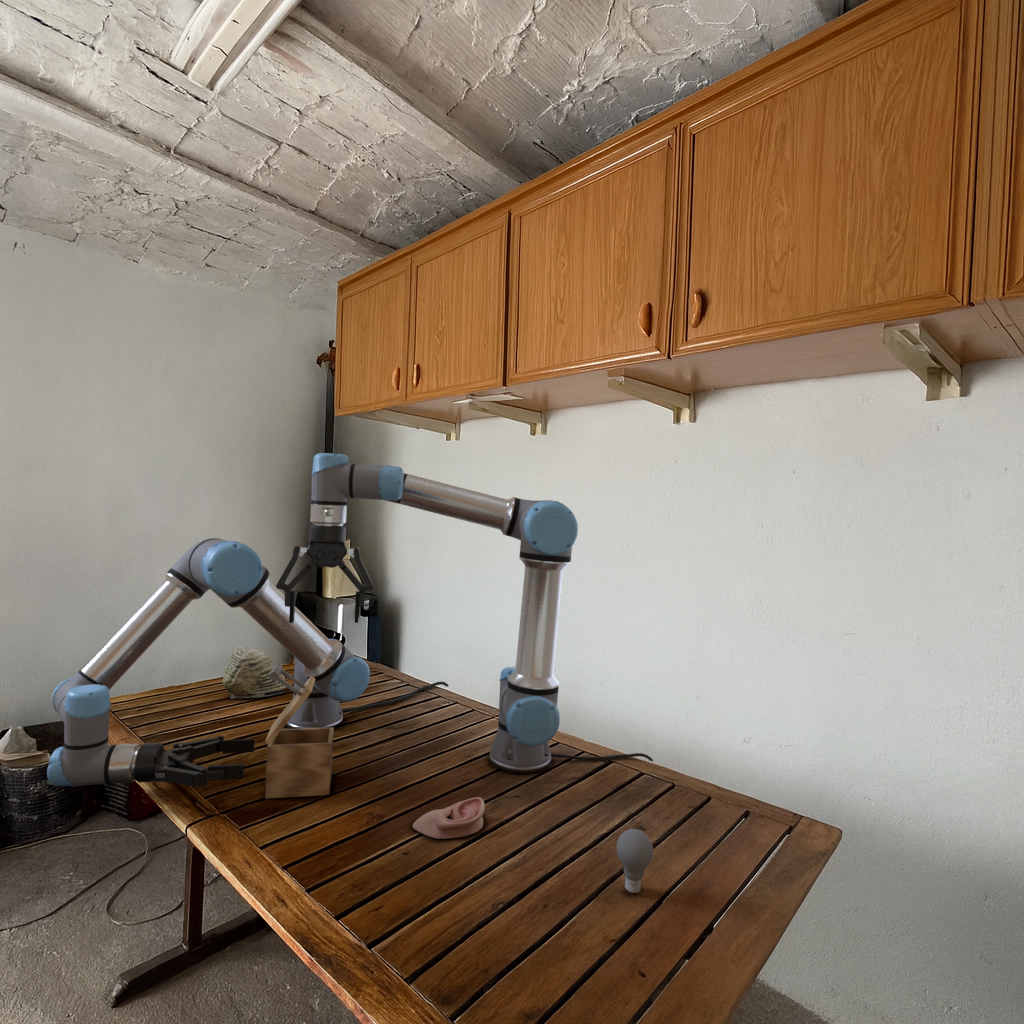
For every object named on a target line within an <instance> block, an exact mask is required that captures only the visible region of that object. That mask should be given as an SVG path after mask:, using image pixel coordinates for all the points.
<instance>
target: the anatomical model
mask: <svg viewBox="0 0 1024 1024" xmlns="http://www.w3.org/2000/svg"><path fill="white" fill-rule="evenodd" d="M485 809H486V806H485V801H484V798H482V797H480V796H479V797H478V796H476V797H470V798H467V799H463V800H461V801H458V802H456V803H454V804H451V805H449V806H447V807H444V808H440V809H434V810H430V811H428V812H426V813H424V814H422V815H421V816H420V817H419V818H417V819H416V820H415V821H414V822H413V824H412V828H413V830H415V831H417V832H419V833H421V834H422V835H424V836H427V837H429V838H432V839H437V840H440V839H441V840H445V839H455V838H461V837H466V836H470V835H472V834H475V833H477V832H479V831H480V830H482V828H483V827H484V818H483V817H484V816H483V815H484V813H485Z"/></svg>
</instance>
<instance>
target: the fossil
mask: <svg viewBox="0 0 1024 1024" xmlns="http://www.w3.org/2000/svg"><path fill="white" fill-rule="evenodd" d="M275 665H276V663H275V662H274V660H273V659H272V658H271V657H270V656H269V655H268V654H267V653H266V652H265V650H264V649H263V648H260V647H258V648H251V647H247V646H246V647H245V646H238V647H237V648H236V649H235V650H233V651H232V653H231V656H230V657H229V659H228V660H227V663H226V666H225V668H224V671H223V675H222V676H223V677H222V685H223V687H224V688H225V690H226V691H228V693H229V698H230V699H250V698H264V697H271V696H275V695H281V694H284V693H285V691H286V689H287V687H286V686H284V685H283V684H281V683H280V682H279V681H277V680H276V681H272V680H270V679H269V675H270V673H271V671H272V669H273V667H274V666H275ZM279 677H280V678H282V679H283V680H285V681H286V682H287V680H286V676H284V675H283V674H281V673H280V676H279Z"/></svg>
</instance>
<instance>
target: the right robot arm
mask: <svg viewBox="0 0 1024 1024" xmlns="http://www.w3.org/2000/svg"><path fill="white" fill-rule="evenodd" d="M310 475H311V497H310V498H311V499H310V518H309V519H310V523H312V524H311V525H310V526H309V543H308V547H305V546H300V545H296V546H294V547H293V551H292V556H291V558H290V560H289V562H288V563H287V565H286V567H285V569H284V571H283V573H282V574H281V576H280V577H279V579H278V581H277V583H276V585H275V587H276V588H277V589H278V590H282V591H283V592H284V596H285V607H290V614H289V623H293V622H294V614H295V607H296V590H293V589H294V588H295V586H296V585H297V584H298V583H299V582H300V581H301V580H302V579H303V578H304V577H305V576H306V575H307V574H308V572H309V571H311V569H313V567H314V566H316V567H318V568H330V569H335V568H336V567H338V568H339V569H340V570H341V571H342V572H343V573H344V575H345V576H346V577H347V578H348V579H349V581H350V582H351V583H352V584H353V586H354V587H355V588H356V589H357V591H355V602H354V624H359V614H360V613H359V612H360V608H364V607H365V597H366V592H368V591H372V590H373V589H374V584H373V581H372V579H371V577H370V575H369V572H368V571H367V569H366V567H365V565H364V562H363V560H362V557H361V552H360V548H359V546H355V547H349V548H347V546H346V536H347V534H346V533H347V527H346V526H345V525H344V524H346V523H347V512H348V511H347V509H348V503H347V501H348V499H363V500H379V501H380V500H381V501H385V502H390V503H393V504H397V505H402V506H406V507H409V508H410V507H411V508H414V509H418V510H421V511H426V512H429V513H433V514H437V515H441V516H445V517H449V518H453V519H457V520H461V521H465V522H469V523H472V524H477V525H480V526H484V527H488V528H491V529H495V530H500V532H501V533H502V535H503V536H507V537H509V538H514V539H516V540H519V541H520V545H519V557H518V558H519V560H520V561H521V562H522V564H523V565H524V574H523V575H524V576H523V583H522V584H523V585H522V586H523V587H522V596H521V606H520V616H519V617H520V618H519V627H518V628H519V629H518V639H517V649H516V660H515V666H507V667H504V668H502V669H501V670H500V678H499V679H498V680H499V698H498V699H499V701H498V725H497V730H496V733H495V735H494V739H493V741H492V744H491V746H490V749H489V757H488V758H489V762H490V763H491V765H493V766H494V767H495V768H498V769H499V770H502V771H505V772H510V773H514V774H515V773H517V774H531V773H538V772H541V771H544V770H546V769H547V768H549V767H550V766H551V763H552V758H562V759H570V760H577V761H578V760H579V761H602V760H604V761H605V760H613V759H622V758H623V759H625V758H633V757H635V758H636V757H643V758H646V759H647V760H648V761H650V762H654V759H653V758H652V757H651V756H650V755H648V754H645V753H642V752H636V753H626V754H612V755H604V756H577V755H568V754H559V753H552V751H551V748H550V744H549V741H551V740H552V739H553V738H554V737H555V735H556V734H557V732H558V730H559V728H560V722H561V721H560V719H561V717H560V711H559V708H558V699H559V687H560V681H559V680H558V679H557V678H556V677H555V674H554V670H555V659H556V650H557V649H556V648H557V638H558V629H559V627H558V626H559V617H560V607H561V595H562V585H563V575H564V570H565V568H567V567H568V566H569V565H570V564H571V563H572V562H571V561H572V551H573V546H574V544H575V542H576V540H577V538H578V533H579V525H578V520H577V518H576V516H575V514H574V513H573V511H572V510H571V508H570V507H568V506H567V505H566V504H564V503H562V502H560V501H558V500H553V499H548V500H547V499H544V500H543V499H542V500H531V499H523V498H519V497H516V496H512V497H510V498H508V499H507V498H503V497H499V496H495V495H491V494H487V493H483V492H479V491H476V490H471V489H468V488H464V487H460V486H456V485H452V484H448V483H446V482H445V483H444V482H440V481H436V480H432V479H429V478H424V477H421V476H418V475H413V474H411V473H410V474H409V473H405V472H404V469H403V468H402V467H401V466H396V465H395V466H394V465H389V464H385V465H384V464H357V463H350V459H349V455H347V454H344V453H343V454H342V453H331V452H330V453H328V452H320V453H316V454H315V455H314V456H313V461H312V471H311V474H310ZM305 553H306V554H307V555H308V557H309V558H310V561H309V562H307V564H306V565H305V566H304V567H303V568H302V569H300V571H299V573H297V575H295V576H294V578H293V579H291V581H290V582H289V583H288V584H287V583H286V582H287V580H288V578H289V576H290V575H291V573H292V571H293V569H294V568H295V566H296V564H297V562H298V561H299V559H300V557H303V556H304V554H305ZM347 554H348V555H349V557H351V558H352V559H354V561H355V564H356V566H357V568H358V570H359V572H360V575H361V577H362V579H363V581H364V583H365V584H363V583H362V582H361V581H360V580H359V578H358V577H357V576H356V575H355V574H354V572H353V571H352V570H351V568H350V567H349V566H348V565H347V563H346V562H345V561H344V558H345V557H346V556H347Z"/></svg>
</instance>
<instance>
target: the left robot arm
mask: <svg viewBox="0 0 1024 1024" xmlns="http://www.w3.org/2000/svg"><path fill="white" fill-rule="evenodd" d="M270 577H271V572H270V571H269V569H268V568H266V566H264V564H263V563H262V559H261V558H260V556H259V555H258V553H257V552H256V551H255V550H254V549H253V548H252V547H250V546H249V545H247V544H245V543H242V542H239V541H235V540H226V539H222V538H218V537H211V538H205V539H202V540H201V541H198V542H197V543H195V544H193V545H192V546H191V547H190V548H189V549H188V550H187V551H186V552H185V553H184V554H182V556H181V557H180V558H178V560H177V561H176V562H175V563H174V564H173V565H172V566H171V568H170V569H168V570H167V572H166V573H165V580H164V581H163V582H162V583H161V585H159V586H158V587H157V589H156V590H155V591H153V592H152V594H151V595H150V596H149V597H148V598H147V599H146V600H145V601H144V602H143V603H142V604H141V605H140V606H139V607H138V608H137V610H136V611H135V612H134V613H132V615H131V616H130V617H129V618H128V619H127V620H126V621H125V622H124V623H123V624H122V625H121V626H120V627H119V628H118V629H117V631H115V632H114V634H113V635H111V637H110V638H109V639H108V640H107V641H106V642H105V643H104V644H103V645H102V646H101V648H99V649H98V650H97V652H95V654H94V655H93V656H92V657H91V658H90V659H88V661H87V662H86V663H85V664H84V665H83V666H82V667H81V668H80V669H79V671H77V672H76V673H75V674H74V675H73V676H72V677H70V678H67V679H65V680H62V681H61V682H60V683H59V684H58V685H57V686H56V687H55V688H54V689H53V692H52V695H51V699H52V706H53V708H54V711H56V713H57V714H58V715H59V717H60V719H61V721H62V722H63V725H64V726H63V727H64V730H63V731H64V733H63V734H64V736H63V737H64V738H63V739H64V740H63V746H60V747H57V748H56V749H55V750H54V751H53V752H52V753H51V755H50V758H49V760H48V766H47V770H46V776H47V780H48V782H49V783H50V785H51V786H55V787H74V788H75V787H79V786H81V787H84V786H96V785H113V784H114V785H115V784H119V786H124V785H125V784H132V783H134V782H137V783H154V782H156V783H157V782H158V783H159V782H160V783H172V784H177V785H182V786H188V787H195V788H199V787H206V786H207V783H208V782H207V781H226V780H227V781H228V780H242V779H243V778H244V765H245V764H244V763H238V764H237V763H235V764H215V765H208V766H207V767H204V766H202V765H198V764H195V763H194V761H195V760H199V759H201V758H205V757H208V756H211V755H215V754H218V753H222V754H239V753H240V754H244V753H254V752H255V742H256V741H255V740H256V739H255V738H243V739H242V738H241V739H225V736H224V735H218V736H213V737H208V738H202V739H198V740H192V741H187V742H177V743H174V744H173V745H172V749H168V750H166V749H165V747H164V744H163V743H161V742H147V743H143V744H140V743H119V744H109V733H110V732H109V731H110V730H109V729H110V710H111V709H110V708H111V706H112V705H111V703H112V701H111V697H110V695H111V694H110V692H111V691H110V690H111V689H113V687H114V686H115V685H116V683H118V681H119V680H120V679H122V677H123V676H124V675H125V674H126V673H127V672H128V671H129V669H130V668H131V667H132V666H133V665H134V664H135V663H136V662H137V661H138V660H139V658H140V657H141V656H142V655H143V654H145V652H146V651H147V650H148V649H149V648H150V647H151V645H153V643H154V642H155V641H157V639H158V638H159V637H160V636H161V635H162V634H163V633H164V631H166V629H167V628H168V627H169V626H170V625H171V624H172V623H173V622H174V621H175V620H176V619H177V618H178V616H180V614H181V613H182V612H183V611H184V610H185V609H186V608H187V607H188V605H189V604H191V603H192V601H195V600H200V599H201V598H202V597H203V596H204V595H205V594H206V593H207V592H208V591H209V590H211V591H212V592H213V593H214V594H215V595H216V596H217V597H218V598H219V599H220V600H222V601H223V602H224V603H225V604H226V605H227V606H228V607H230V608H231V609H234V608H235V609H236V608H241V609H242V610H243V611H244V612H245V613H246V614H248V615H249V616H250V617H251V618H252V619H253V620H254V621H255V622H257V624H258V625H259V626H261V628H262V629H264V630H265V631H266V632H267V633H268V634H269V635H270V636H271V637H273V638H274V639H275V640H276V642H278V643H279V644H280V645H281V646H282V647H283V648H284V649H286V650H287V651H288V652H289V653H290V654H291V655H292V656H293V657H294V672H293V677H294V678H295V679H297V680H298V681H300V682H301V683H303V684H305V683H306V682H307V681H308V679H309V678H310V677H311V676H312V677H313V678H315V682H314V685H313V689H312V692H311V693H310V695H309V696H308V697H307V698H306V700H305V701H304V702H303V704H302V705H301V706H300V707H299V709H298V710H297V711H296V712H295V714H294V715H293V716H292V717H291V719H290V720H289V721H288V722H287V724H286V725H285V726H286V728H287V729H299V728H328V727H334V729H335V728H337V727H339V726H340V725H342V723H343V722H344V714H343V713H347V712H354V711H360V710H365V709H372V708H375V707H376V708H377V707H381V706H385V705H390V704H393V703H397V702H400V701H403V700H406V699H408V698H410V697H411V696H413V695H416V694H418V693H420V692H422V691H424V690H426V689H431V688H433V687H436V686H440V685H441V686H442V685H443V686H445V687H449V686H450V685H449V684H448V683H447V682H445V681H436V682H434V683H430V684H427V685H424V686H421V687H419V688H417V689H415V690H412V691H411V692H409V693H406V694H405V695H402V696H399V697H397V698H393V699H389V700H385V701H384V700H383V701H379V702H375V703H371V704H365V705H358V706H352V707H351V706H350V707H346V708H342V706H341V703H350V702H353V701H355V700H357V699H358V698H360V697H361V696H362V695H363V693H364V692H365V691H366V690H367V688H368V685H369V683H370V675H371V670H370V667H369V665H368V663H367V662H366V661H365V660H364V659H363V658H362V657H359V656H356V655H354V654H353V653H352V652H351V651H350V649H348V648H347V647H346V646H345V645H344V644H343V643H342V642H341V641H340V640H339V639H336V638H328V636H326V635H325V634H324V633H323V632H322V631H321V630H320V629H319V628H318V627H317V626H316V625H315V624H313V622H312V620H310V619H309V618H308V617H307V616H306V615H304V613H302V611H301V610H300V609H298V608H297V607H296V606H295V614H294V622H293V623H289V614H290V607H285V594H283V592H281V591H280V589H277V588H276V585H274V584H273V583H272V582H271V581H270ZM429 685H431V686H429ZM293 687H295V688H296V689H298V690H299V691H300V689H301V687H300V686H299V685H297V684H296V683H294V682H293ZM292 696H293V697H292V699H293V698H294V697H295V696H296V693H294V692H293V695H292Z"/></svg>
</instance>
